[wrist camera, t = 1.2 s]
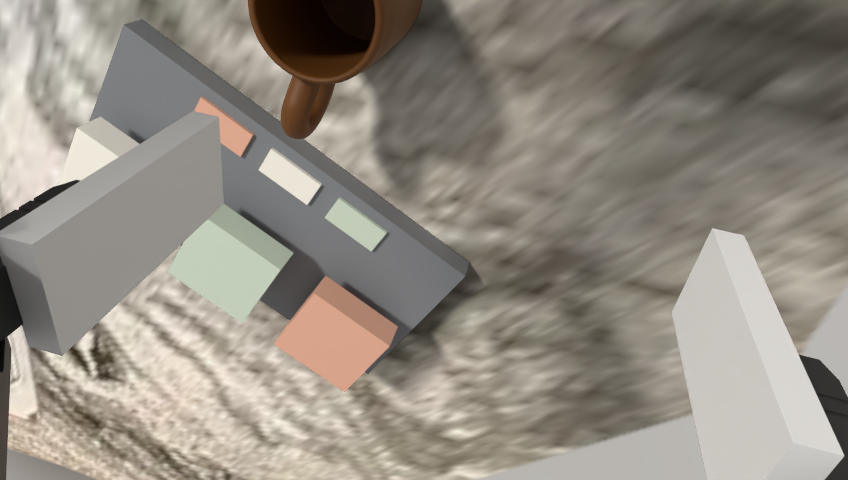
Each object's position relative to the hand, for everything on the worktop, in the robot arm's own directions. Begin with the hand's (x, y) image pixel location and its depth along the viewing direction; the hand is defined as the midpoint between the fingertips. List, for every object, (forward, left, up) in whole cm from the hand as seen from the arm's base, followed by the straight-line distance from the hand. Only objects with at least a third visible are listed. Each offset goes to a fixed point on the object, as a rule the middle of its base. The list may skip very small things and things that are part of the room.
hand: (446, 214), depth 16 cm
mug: (-9, -6, -26) cm, 28 cm away
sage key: (-7, -26, -22) cm, 35 cm away
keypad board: (-7, -24, -25) cm, 35 cm away
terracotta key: (+3, -26, -22) cm, 34 cm away
